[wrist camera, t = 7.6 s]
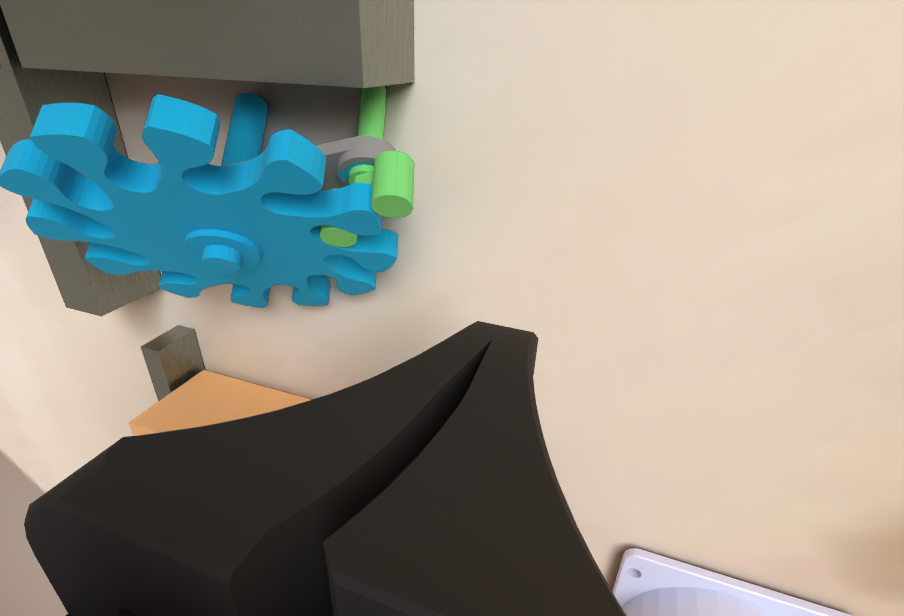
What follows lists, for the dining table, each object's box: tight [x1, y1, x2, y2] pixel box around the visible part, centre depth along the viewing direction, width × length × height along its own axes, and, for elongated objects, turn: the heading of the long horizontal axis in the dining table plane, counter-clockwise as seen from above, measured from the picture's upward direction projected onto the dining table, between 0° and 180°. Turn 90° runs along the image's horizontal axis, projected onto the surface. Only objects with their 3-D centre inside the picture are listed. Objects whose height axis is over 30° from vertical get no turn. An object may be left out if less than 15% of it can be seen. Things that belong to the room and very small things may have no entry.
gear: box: [0, 86, 414, 308], centre depth 15 cm, size 11×6×10 cm
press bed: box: [0, 0, 414, 401], centre depth 14 cm, size 28×15×10 cm, turn 178°
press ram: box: [129, 370, 311, 436], centre depth 21 cm, size 4×10×4 cm, turn 88°
